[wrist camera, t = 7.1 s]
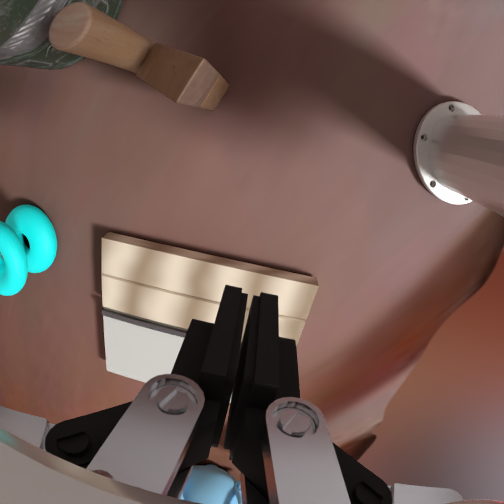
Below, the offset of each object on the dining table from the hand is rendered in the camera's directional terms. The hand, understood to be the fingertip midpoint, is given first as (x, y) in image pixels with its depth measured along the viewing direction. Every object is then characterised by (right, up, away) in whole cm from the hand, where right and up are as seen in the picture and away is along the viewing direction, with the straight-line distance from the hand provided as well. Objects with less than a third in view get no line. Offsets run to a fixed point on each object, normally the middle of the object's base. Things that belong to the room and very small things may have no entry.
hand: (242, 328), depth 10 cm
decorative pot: (-10, -46, +48) cm, 68 cm away
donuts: (-31, +5, +29) cm, 42 cm away
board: (-8, -13, +34) cm, 37 cm away
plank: (-6, -2, +30) cm, 30 cm away
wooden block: (-7, +22, +21) cm, 31 cm away
